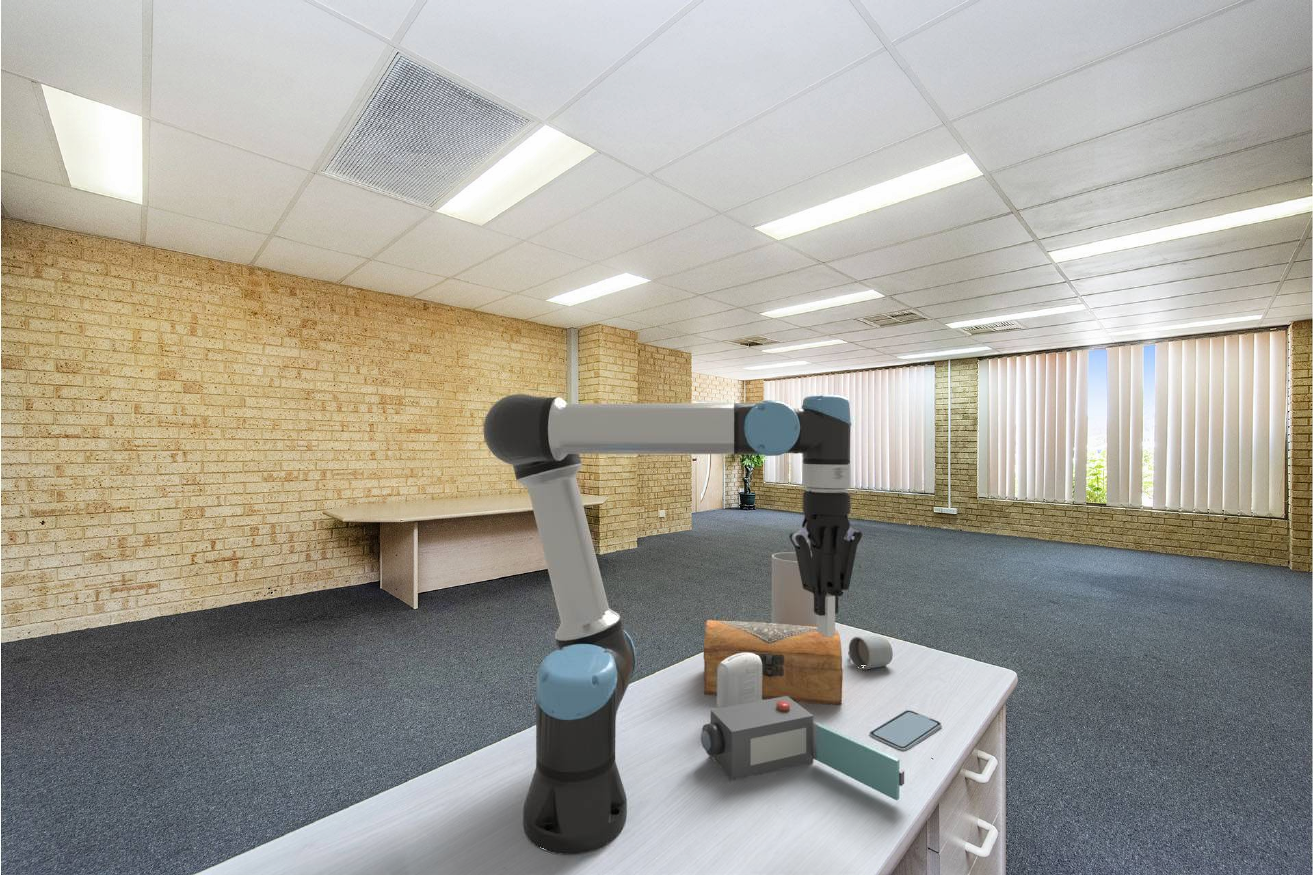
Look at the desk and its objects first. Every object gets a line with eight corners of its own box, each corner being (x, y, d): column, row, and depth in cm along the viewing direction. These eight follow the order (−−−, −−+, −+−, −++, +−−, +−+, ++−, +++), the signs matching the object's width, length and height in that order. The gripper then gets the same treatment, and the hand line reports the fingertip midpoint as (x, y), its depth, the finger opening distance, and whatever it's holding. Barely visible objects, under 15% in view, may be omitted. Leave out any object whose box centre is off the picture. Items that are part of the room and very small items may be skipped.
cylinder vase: (790, 637, 157) (791, 550, 157) (828, 650, 147) (828, 557, 148) (762, 647, 149) (762, 555, 150) (799, 661, 140) (799, 563, 140)
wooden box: (701, 697, 120) (701, 633, 120) (708, 667, 136) (708, 611, 137) (844, 710, 115) (844, 643, 115) (833, 677, 131) (833, 619, 131)
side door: (904, 796, 85) (904, 757, 85) (898, 801, 83) (898, 762, 83) (818, 754, 96) (818, 719, 96) (811, 758, 95) (812, 723, 95)
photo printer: (750, 704, 117) (751, 646, 117) (765, 712, 113) (765, 652, 113) (713, 717, 111) (713, 656, 111) (727, 726, 107) (727, 663, 107)
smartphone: (866, 733, 105) (907, 708, 114) (866, 738, 105) (907, 713, 114) (903, 750, 99) (943, 723, 108) (904, 755, 99) (943, 728, 108)
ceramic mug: (895, 669, 135) (895, 638, 135) (869, 674, 132) (869, 642, 132) (864, 654, 145) (864, 625, 145) (839, 659, 142) (839, 629, 142)
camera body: (717, 783, 89) (717, 729, 89) (697, 757, 97) (697, 707, 97) (813, 761, 95) (813, 711, 96) (787, 738, 103) (787, 691, 103)
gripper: (806, 492, 84) (806, 646, 84) (874, 490, 89) (874, 637, 88) (779, 489, 91) (779, 631, 91) (843, 487, 96) (843, 622, 95)
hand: (825, 633), depth 90 cm, fingers closed
